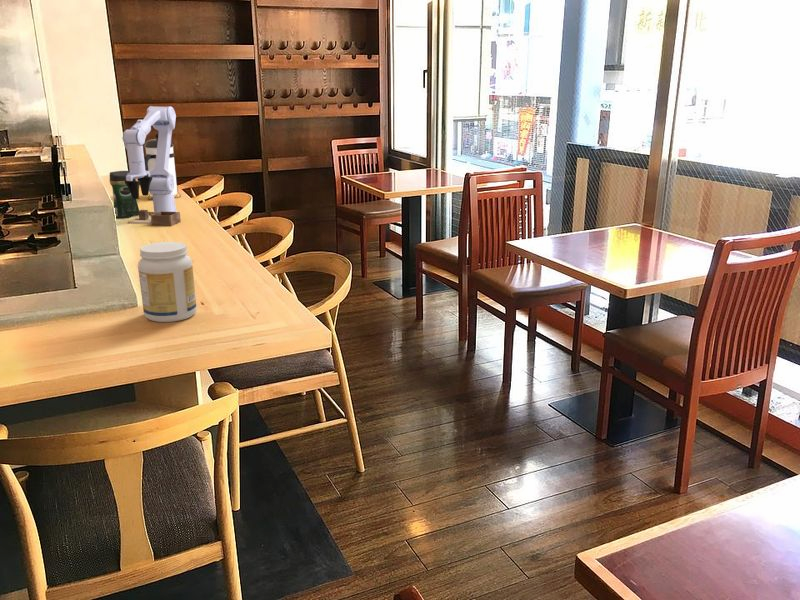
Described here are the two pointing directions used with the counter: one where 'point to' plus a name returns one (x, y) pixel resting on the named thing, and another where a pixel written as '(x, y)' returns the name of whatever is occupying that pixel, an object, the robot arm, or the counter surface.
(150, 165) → the coffee press
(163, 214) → the box
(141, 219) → the lid
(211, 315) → the counter surface
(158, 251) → the supplement tub
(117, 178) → the coffee jar
